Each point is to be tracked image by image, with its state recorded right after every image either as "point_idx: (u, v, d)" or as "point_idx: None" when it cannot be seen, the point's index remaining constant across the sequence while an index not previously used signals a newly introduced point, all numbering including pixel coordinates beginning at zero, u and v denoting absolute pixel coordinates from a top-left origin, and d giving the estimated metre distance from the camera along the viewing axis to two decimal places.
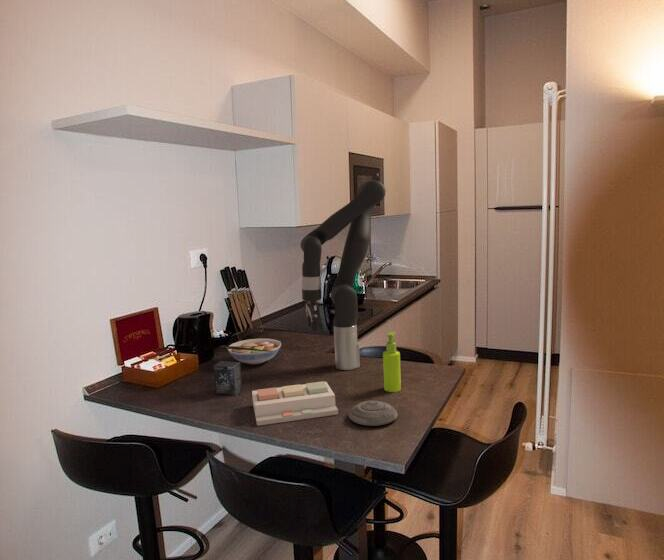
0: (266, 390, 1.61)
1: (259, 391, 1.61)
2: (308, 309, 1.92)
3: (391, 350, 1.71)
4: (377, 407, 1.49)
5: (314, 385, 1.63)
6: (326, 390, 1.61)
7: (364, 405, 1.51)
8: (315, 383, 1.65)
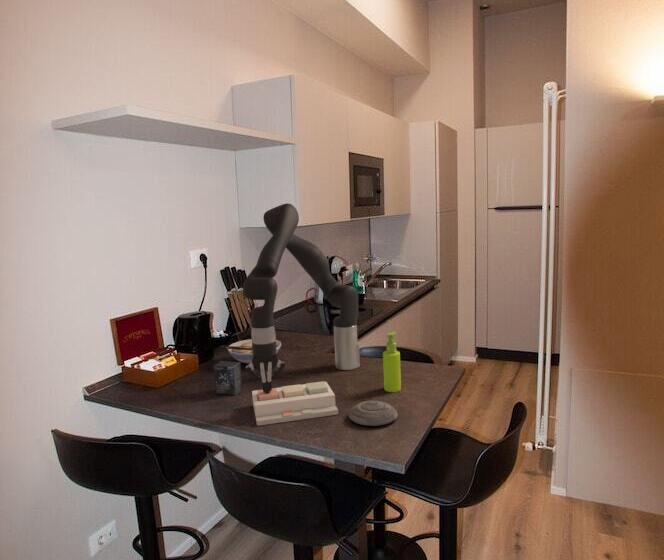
0: None
1: (259, 392, 1.61)
2: (269, 366, 1.57)
3: (391, 350, 1.71)
4: (377, 407, 1.49)
5: (314, 385, 1.63)
6: (326, 390, 1.61)
7: (364, 405, 1.51)
8: (315, 383, 1.65)
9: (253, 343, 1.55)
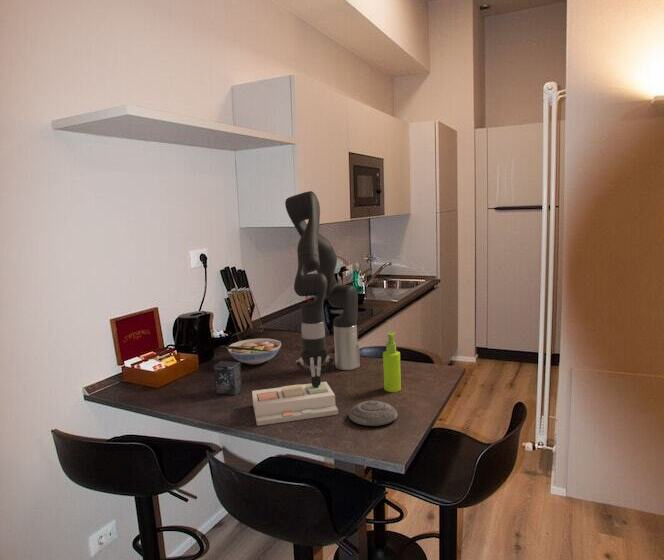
0: (266, 395, 1.61)
1: (259, 396, 1.61)
2: (319, 361, 1.61)
3: (391, 350, 1.71)
4: (377, 407, 1.49)
5: None
6: (326, 391, 1.61)
7: (364, 405, 1.51)
8: None
9: (303, 338, 1.59)
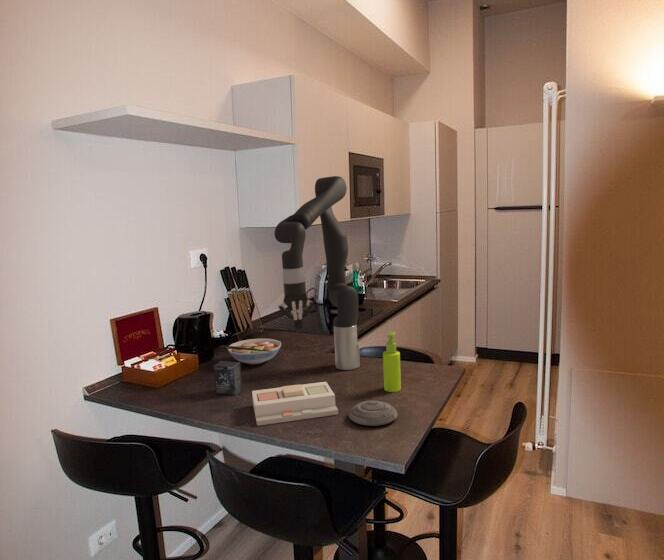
0: (266, 395, 1.61)
1: (259, 396, 1.61)
2: (300, 305, 1.71)
3: (391, 350, 1.71)
4: (377, 407, 1.49)
5: (314, 390, 1.63)
6: None
7: (364, 405, 1.51)
8: (315, 387, 1.66)
9: (285, 283, 1.69)
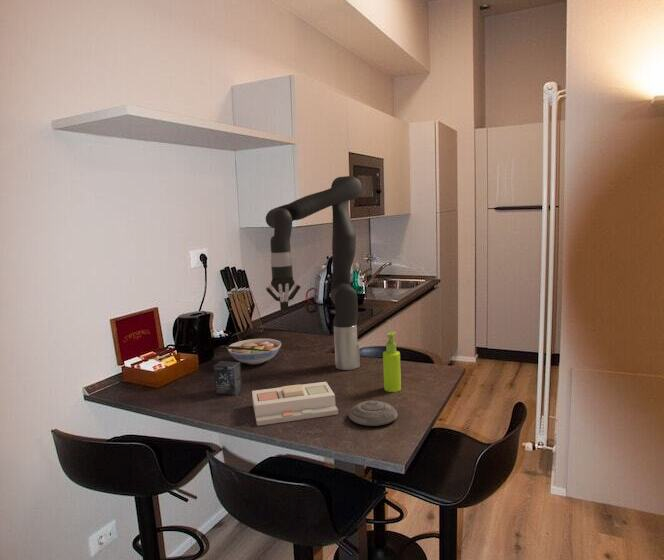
0: (266, 395, 1.61)
1: (259, 396, 1.61)
2: (287, 287, 1.80)
3: (391, 350, 1.71)
4: (377, 407, 1.49)
5: (314, 390, 1.63)
6: None
7: (364, 405, 1.51)
8: (315, 387, 1.66)
9: (272, 266, 1.78)
